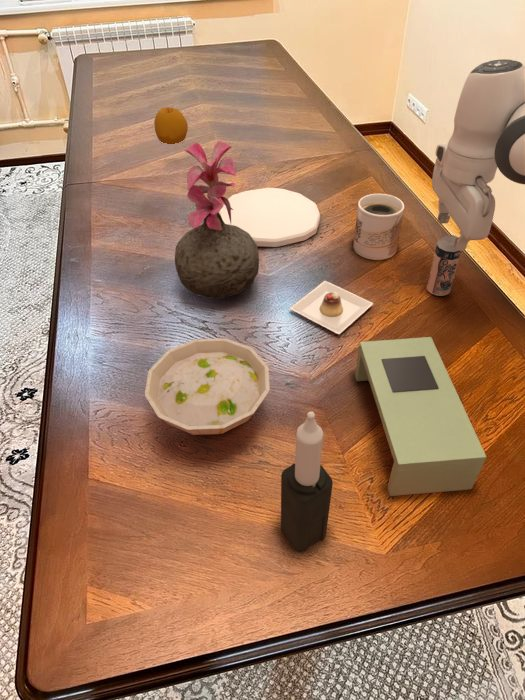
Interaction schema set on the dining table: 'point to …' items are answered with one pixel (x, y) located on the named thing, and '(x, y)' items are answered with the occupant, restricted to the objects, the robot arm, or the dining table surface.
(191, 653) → the dining table surface
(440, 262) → the beer can
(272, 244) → the decorative plate
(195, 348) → the bowl
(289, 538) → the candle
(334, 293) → the dessert
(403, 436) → the shelf
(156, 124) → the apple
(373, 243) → the mug
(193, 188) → the vase
